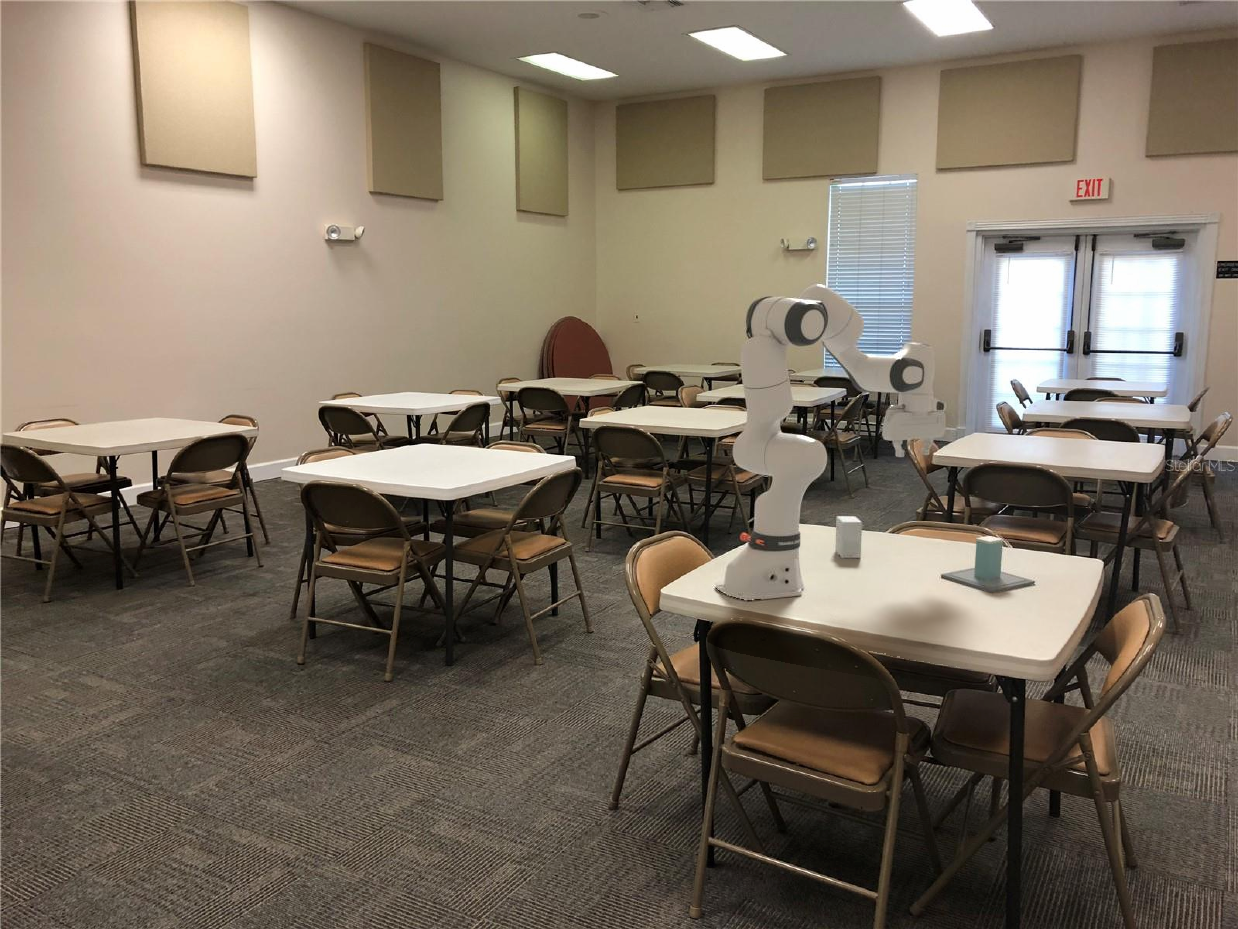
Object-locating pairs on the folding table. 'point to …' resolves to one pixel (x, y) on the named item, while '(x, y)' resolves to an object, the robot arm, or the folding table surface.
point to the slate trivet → (992, 585)
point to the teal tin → (988, 557)
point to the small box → (848, 536)
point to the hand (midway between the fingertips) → (912, 455)
